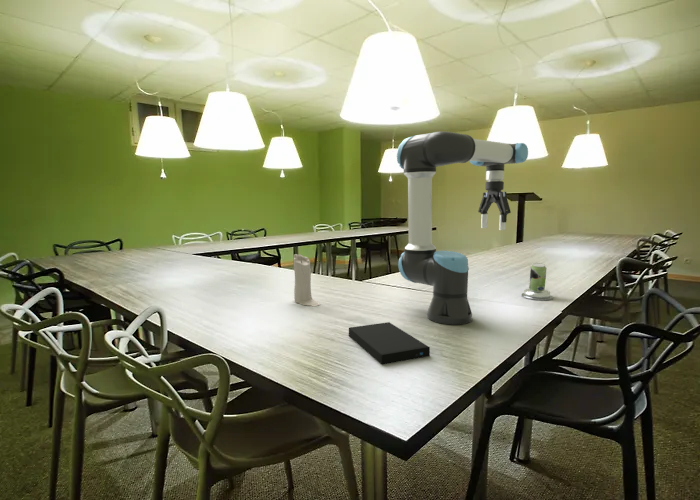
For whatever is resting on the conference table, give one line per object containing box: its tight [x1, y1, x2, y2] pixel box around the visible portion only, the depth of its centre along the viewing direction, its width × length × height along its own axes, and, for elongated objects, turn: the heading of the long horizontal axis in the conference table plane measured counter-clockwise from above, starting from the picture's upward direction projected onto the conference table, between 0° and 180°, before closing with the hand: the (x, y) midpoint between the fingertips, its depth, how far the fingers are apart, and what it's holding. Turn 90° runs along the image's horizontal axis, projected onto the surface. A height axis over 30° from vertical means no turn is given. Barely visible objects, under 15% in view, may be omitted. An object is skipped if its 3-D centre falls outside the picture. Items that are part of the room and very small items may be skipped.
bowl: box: [521, 288, 553, 302], centre depth 163 cm, size 12×12×2 cm
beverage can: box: [528, 262, 547, 292], centre depth 163 cm, size 6×7×12 cm
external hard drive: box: [348, 321, 431, 366], centre depth 110 cm, size 14×23×3 cm, turn 22°
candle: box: [293, 253, 321, 307], centre depth 157 cm, size 7×14×20 cm, turn 41°
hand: (492, 229), depth 171 cm, fingers open, 13 cm apart
